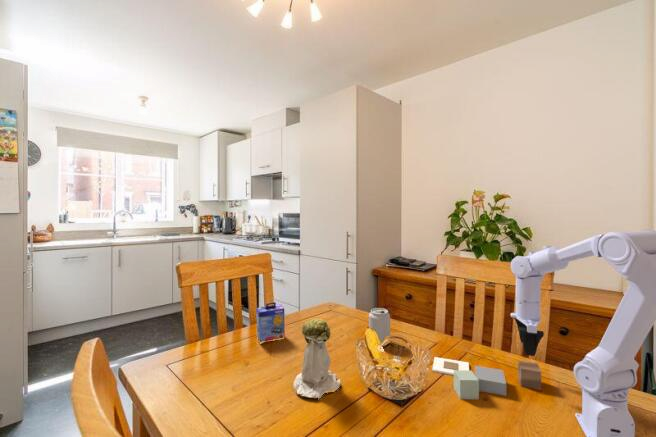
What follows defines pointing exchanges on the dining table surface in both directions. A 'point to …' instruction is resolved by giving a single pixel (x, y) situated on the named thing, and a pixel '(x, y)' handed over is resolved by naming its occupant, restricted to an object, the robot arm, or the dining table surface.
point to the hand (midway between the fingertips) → (527, 348)
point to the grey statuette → (315, 362)
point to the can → (380, 322)
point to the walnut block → (529, 375)
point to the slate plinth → (491, 380)
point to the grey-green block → (466, 384)
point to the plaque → (448, 365)
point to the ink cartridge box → (270, 322)
